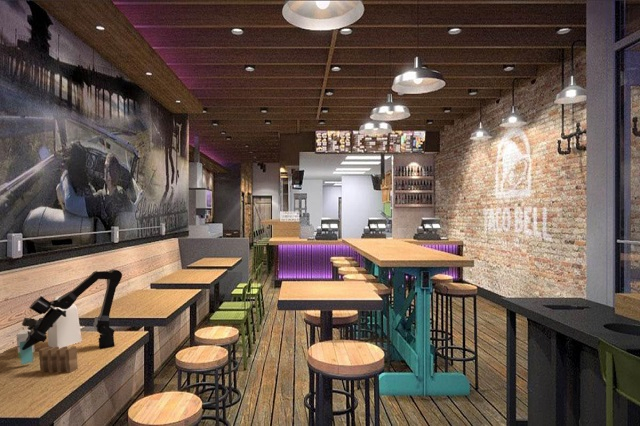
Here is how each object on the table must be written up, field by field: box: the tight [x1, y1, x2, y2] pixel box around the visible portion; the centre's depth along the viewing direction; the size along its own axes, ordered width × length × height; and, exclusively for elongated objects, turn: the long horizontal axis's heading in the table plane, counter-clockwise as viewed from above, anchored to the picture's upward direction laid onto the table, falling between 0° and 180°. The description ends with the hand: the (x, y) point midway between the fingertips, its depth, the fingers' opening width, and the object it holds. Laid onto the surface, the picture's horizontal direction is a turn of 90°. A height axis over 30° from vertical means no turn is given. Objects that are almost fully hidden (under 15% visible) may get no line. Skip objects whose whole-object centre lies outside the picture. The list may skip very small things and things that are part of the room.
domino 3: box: [47, 347, 60, 374], centre depth 183 cm, size 2×4×10 cm, turn 170°
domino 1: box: [20, 341, 34, 365], centre depth 191 cm, size 2×4×10 cm, turn 130°
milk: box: [47, 294, 83, 349], centre depth 223 cm, size 12×12×26 cm
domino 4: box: [56, 346, 68, 374], centre depth 182 cm, size 2×4×10 cm, turn 170°
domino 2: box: [38, 346, 51, 374], centre depth 183 cm, size 2×4×10 cm, turn 170°
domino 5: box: [65, 345, 79, 374], centre depth 181 cm, size 2×4×10 cm, turn 170°
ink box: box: [15, 329, 36, 359], centre depth 209 cm, size 8×5×12 cm, turn 19°
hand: (22, 349), depth 190 cm, fingers closed on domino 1, 2 cm apart
